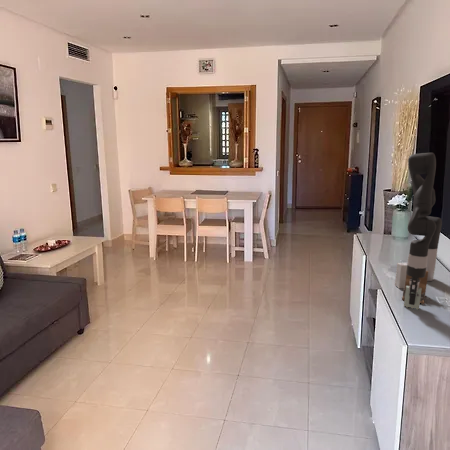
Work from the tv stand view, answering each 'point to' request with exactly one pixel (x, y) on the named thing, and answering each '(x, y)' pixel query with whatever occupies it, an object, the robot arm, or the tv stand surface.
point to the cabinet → (422, 285)
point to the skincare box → (401, 275)
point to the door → (417, 298)
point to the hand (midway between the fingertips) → (412, 302)
